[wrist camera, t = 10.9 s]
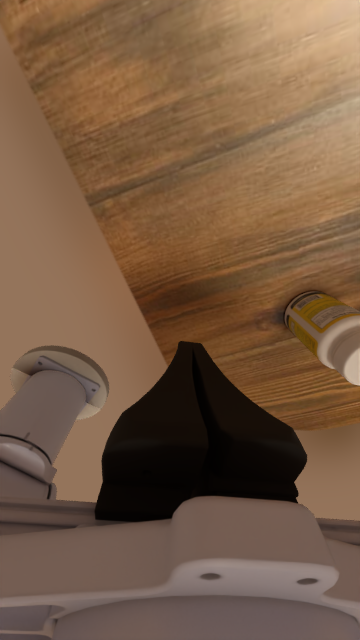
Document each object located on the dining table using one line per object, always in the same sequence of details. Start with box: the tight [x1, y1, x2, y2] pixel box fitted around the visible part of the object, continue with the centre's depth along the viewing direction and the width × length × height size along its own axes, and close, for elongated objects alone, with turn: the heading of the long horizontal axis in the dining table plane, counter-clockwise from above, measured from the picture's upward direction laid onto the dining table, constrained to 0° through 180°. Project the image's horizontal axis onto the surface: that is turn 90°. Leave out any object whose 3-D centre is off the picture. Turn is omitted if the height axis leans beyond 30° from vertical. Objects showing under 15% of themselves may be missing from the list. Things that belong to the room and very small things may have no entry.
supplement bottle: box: [285, 291, 360, 385], centre depth 18 cm, size 5×5×8 cm
